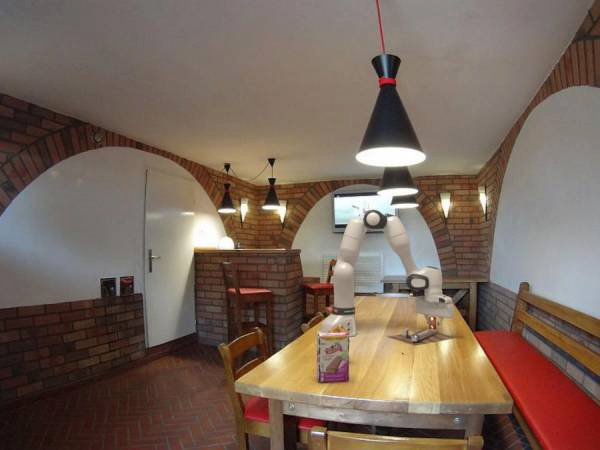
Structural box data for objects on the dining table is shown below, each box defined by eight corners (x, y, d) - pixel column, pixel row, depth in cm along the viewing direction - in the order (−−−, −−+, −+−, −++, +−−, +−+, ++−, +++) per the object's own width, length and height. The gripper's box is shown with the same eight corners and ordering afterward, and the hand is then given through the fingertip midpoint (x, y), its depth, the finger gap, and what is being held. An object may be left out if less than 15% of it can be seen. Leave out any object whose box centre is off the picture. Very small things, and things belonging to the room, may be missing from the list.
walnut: (412, 340, 182) (412, 332, 182) (406, 338, 185) (406, 330, 186) (418, 339, 184) (418, 331, 184) (412, 337, 187) (412, 329, 188)
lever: (417, 342, 175) (417, 324, 176) (410, 341, 178) (410, 323, 178) (437, 332, 193) (437, 316, 194) (430, 331, 196) (430, 315, 196)
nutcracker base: (415, 348, 172) (414, 336, 173) (386, 339, 189) (386, 328, 189) (457, 340, 186) (456, 329, 186) (427, 332, 203) (427, 322, 203)
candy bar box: (319, 383, 130) (318, 336, 131) (316, 378, 135) (316, 332, 136) (349, 381, 132) (349, 335, 133) (346, 376, 137) (345, 331, 138)
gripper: (412, 296, 199) (412, 322, 198) (450, 300, 185) (450, 328, 184) (418, 295, 204) (418, 320, 203) (455, 299, 189) (455, 326, 188)
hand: (434, 324), depth 193 cm, fingers open, 4 cm apart
